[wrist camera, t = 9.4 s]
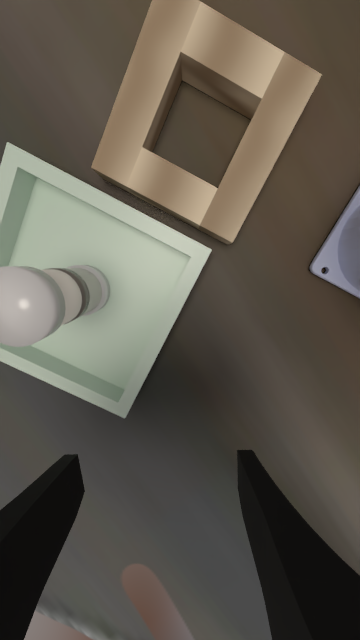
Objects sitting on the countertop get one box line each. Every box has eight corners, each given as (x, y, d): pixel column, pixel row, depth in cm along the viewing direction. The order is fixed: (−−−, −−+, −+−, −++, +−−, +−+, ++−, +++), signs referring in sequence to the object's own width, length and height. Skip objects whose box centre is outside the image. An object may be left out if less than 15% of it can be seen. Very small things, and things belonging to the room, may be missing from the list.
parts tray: (209, 251, 18) (211, 249, 16) (132, 400, 21) (124, 418, 19) (33, 158, 17) (7, 142, 15) (-20, 329, 20) (-49, 338, 18)
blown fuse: (116, 275, 18) (60, 285, 10) (102, 319, 19) (41, 358, 11) (70, 257, 18) (-21, 253, 10) (58, 302, 19) (-35, 329, 11)
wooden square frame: (304, 100, 16) (322, 74, 14) (227, 245, 18) (232, 242, 16) (164, 17, 15) (160, -23, 13) (103, 179, 17) (91, 167, 15)
